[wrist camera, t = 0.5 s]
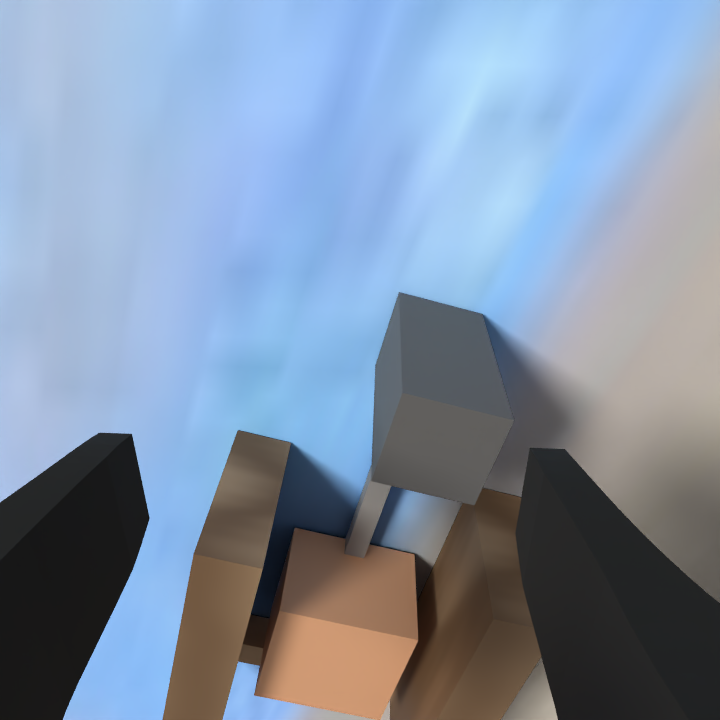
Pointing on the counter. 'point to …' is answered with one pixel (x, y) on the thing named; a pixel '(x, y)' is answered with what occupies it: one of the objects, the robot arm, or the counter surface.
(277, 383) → the counter surface
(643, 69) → the counter surface
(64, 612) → the robot arm
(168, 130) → the counter surface
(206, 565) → the brown wooden u-shaped piece
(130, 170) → the counter surface
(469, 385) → the grey and tan dumbbell
